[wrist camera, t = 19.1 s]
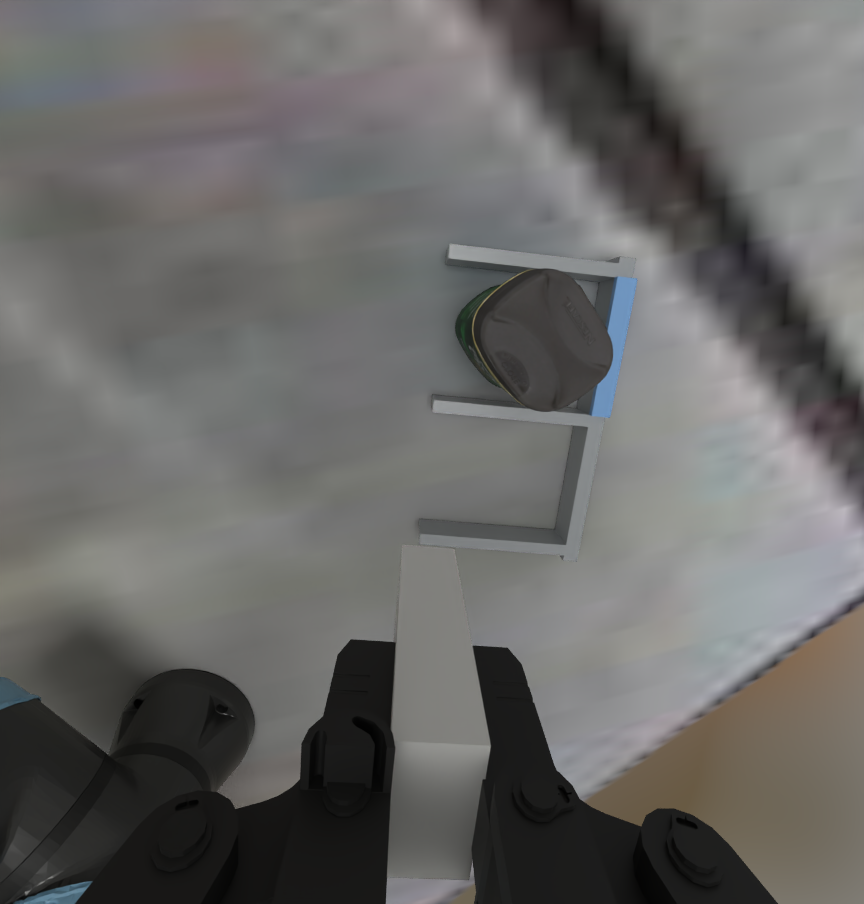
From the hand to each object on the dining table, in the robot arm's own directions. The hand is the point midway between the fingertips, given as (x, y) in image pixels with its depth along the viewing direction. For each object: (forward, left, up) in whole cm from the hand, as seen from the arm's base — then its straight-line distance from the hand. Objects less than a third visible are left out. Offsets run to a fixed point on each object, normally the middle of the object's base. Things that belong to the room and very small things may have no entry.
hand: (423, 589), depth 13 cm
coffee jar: (+8, +8, -37) cm, 38 cm away
